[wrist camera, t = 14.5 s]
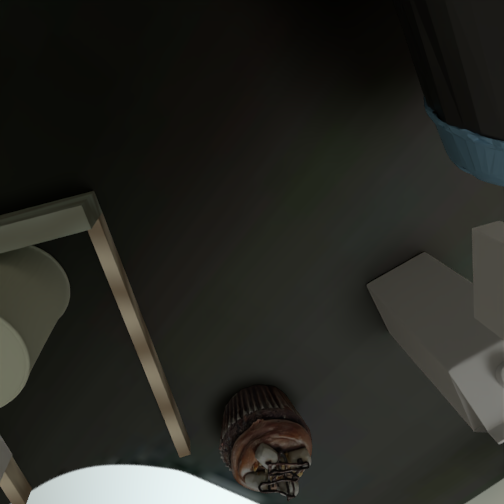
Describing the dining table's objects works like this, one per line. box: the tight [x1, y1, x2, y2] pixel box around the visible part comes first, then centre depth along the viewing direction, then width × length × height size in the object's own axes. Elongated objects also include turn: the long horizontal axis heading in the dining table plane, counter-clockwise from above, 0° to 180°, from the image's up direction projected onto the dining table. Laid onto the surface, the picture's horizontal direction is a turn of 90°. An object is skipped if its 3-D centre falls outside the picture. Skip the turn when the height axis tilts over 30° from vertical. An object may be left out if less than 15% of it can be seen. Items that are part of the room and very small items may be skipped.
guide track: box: [0, 191, 190, 504], centre depth 39 cm, size 30×19×5 cm, turn 13°
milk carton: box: [366, 252, 504, 444], centre depth 37 cm, size 7×7×19 cm
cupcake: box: [219, 385, 312, 502], centre depth 44 cm, size 10×10×10 cm
